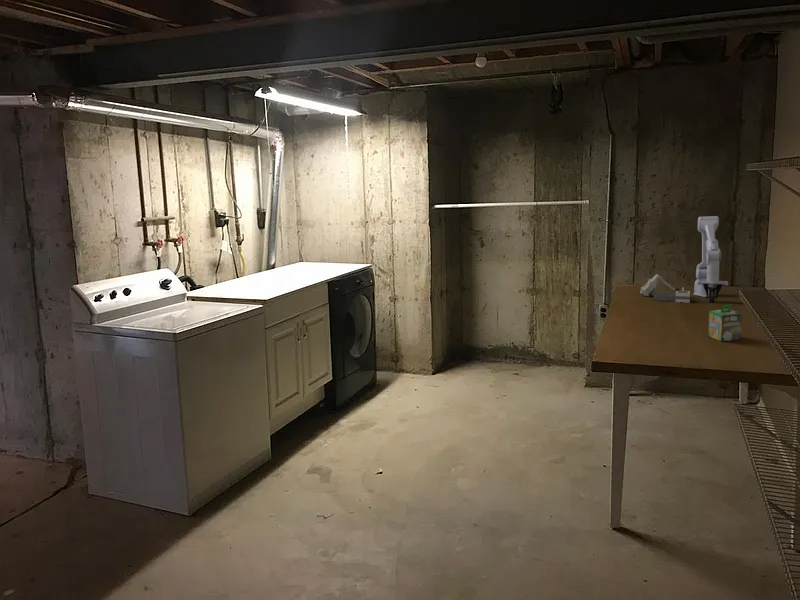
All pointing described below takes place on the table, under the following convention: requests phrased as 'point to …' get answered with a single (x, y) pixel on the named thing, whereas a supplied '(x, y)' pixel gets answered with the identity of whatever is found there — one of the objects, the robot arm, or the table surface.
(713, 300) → the round dark gray knob
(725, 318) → the chalk box
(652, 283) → the mechanical valve
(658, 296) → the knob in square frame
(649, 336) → the table surface
